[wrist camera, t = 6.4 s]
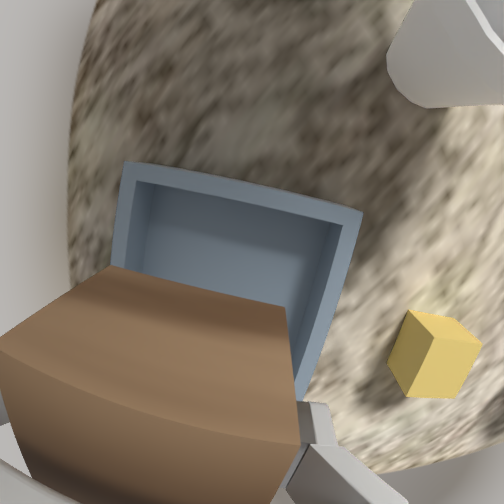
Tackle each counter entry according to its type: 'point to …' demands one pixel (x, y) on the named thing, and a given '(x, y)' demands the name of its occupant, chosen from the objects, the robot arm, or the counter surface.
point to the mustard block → (432, 355)
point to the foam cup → (450, 53)
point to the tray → (240, 246)
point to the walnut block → (152, 393)
